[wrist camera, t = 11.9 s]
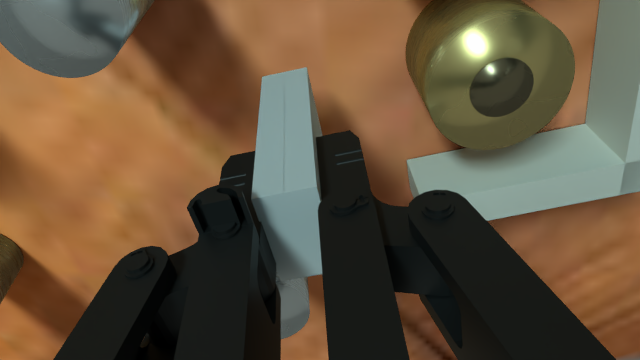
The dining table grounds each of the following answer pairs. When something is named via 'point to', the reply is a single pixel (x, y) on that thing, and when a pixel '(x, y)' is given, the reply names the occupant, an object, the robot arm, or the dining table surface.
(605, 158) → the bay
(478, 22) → the gold round piece
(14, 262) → the spacers
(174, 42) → the dining table surface
